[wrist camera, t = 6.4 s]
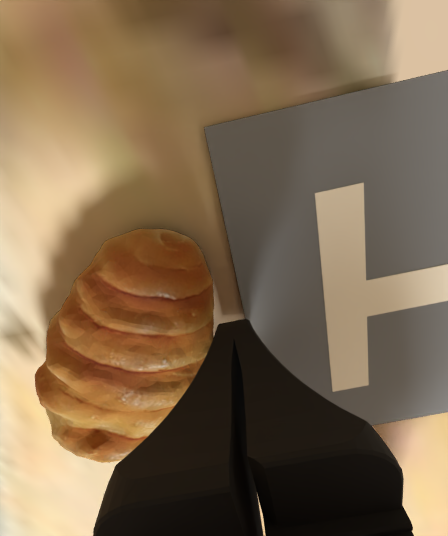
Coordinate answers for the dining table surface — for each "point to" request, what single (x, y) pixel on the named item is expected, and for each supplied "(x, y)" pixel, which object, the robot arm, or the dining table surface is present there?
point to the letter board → (346, 242)
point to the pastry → (126, 343)
